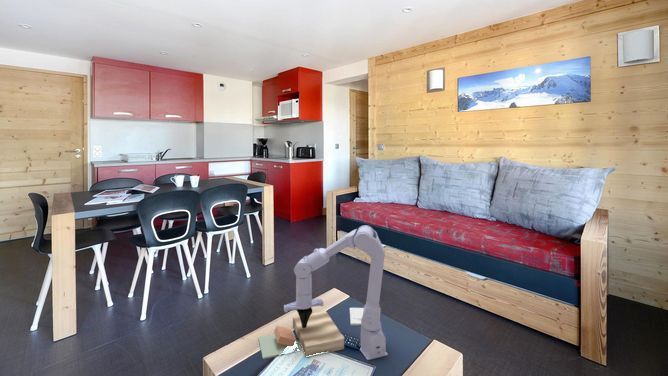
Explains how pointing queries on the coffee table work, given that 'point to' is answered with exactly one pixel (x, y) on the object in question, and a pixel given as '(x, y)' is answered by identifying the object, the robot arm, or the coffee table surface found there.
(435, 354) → the coffee table surface
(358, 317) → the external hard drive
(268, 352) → the mat
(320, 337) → the wavy block
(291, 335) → the tile
